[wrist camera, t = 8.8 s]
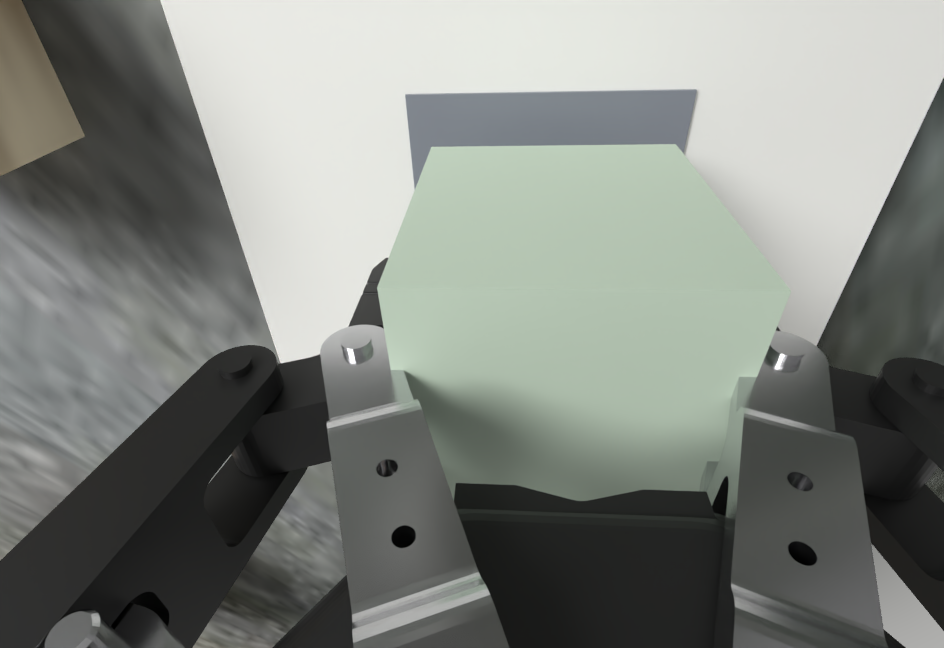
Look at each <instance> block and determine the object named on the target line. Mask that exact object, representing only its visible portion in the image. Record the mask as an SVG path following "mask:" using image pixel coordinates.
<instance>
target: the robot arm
mask: <svg viewBox="0 0 944 648" xmlns="http://www.w3.org/2000/svg"><path fill="white" fill-rule="evenodd" d="M387 261H388V258H385V259H384V260H383V261H381V262H380V263H379V264H378V265H377V266H375V267H374V268H373V269H372V271H371V274H370V276H369V278H368V281H367V284H366V286H365V288H364V290H363V295H361V297H360V300H359V302H358V305H357V307H356V309H355V312H354V314H353V317H352V319H351V321H350V324H349V326H348V327H346V328H344V329H341V330H339V331H337V332H335V333H333V334H332V335H330V336H329V337H328V338H327V339H326V340H325V341H324V343H323V344H322V346H321V349H320V354H319V355H316V356H313V357H309V358H305V359H300V360H295V361H290V362H285V363H280V364H278V362H277V359H276V357H275V354H274V353H273V352H272V351H271V350H269V349H267V348H265V347H262V346H255V345H247V346H240V347H235V348H232V349H228V350H226V351H224V352H221V353H219V354H217V355H216V356H214V357H213V358H211V359H210V360H208V361H207V362H206V363H205V364H204V365H203V366H202V367H201V368H200V369H199V370H198V371H197V372H196V373H195V374H193V375H192V376H191V377H190V378H189V379H188V380H187V381H186V382H185V383H184V384H183V385H182V386H181V387H180V388H179V389H178V390H177V391H176V392H175V393H174V394H173V395H172V396H171V397H170V398H169V399H168V400H167V401H165V402H164V403H163V404H162V405H161V406H160V407H159V408H158V409H157V410H156V411H155V412H154V413H153V414H152V415H151V416H150V417H149V418H148V419H147V420H146V421H145V422H144V423H143V424H142V425H141V426H140V427H139V428H138V429H136V430H135V431H134V432H133V433H132V434H131V435H130V436H129V437H128V438H127V439H126V440H125V441H124V442H123V443H122V444H121V445H120V446H119V447H118V448H117V449H116V450H115V451H114V452H113V453H112V454H111V455H110V456H108V457H107V458H106V459H105V460H104V461H103V462H102V463H101V464H100V465H99V466H98V467H97V468H96V469H95V470H94V471H93V472H92V473H91V474H90V475H89V476H88V477H87V478H86V479H85V480H84V481H83V482H82V483H80V484H79V485H78V486H77V487H76V488H75V489H74V490H73V491H72V492H71V493H70V494H69V495H68V496H67V497H66V498H65V499H64V500H63V501H62V502H61V503H60V504H59V505H58V506H57V507H56V508H55V509H54V510H52V511H51V512H50V513H49V514H48V515H47V516H46V517H45V518H44V519H43V520H42V521H41V522H40V523H39V524H38V525H37V526H36V527H35V528H34V529H33V530H32V531H31V532H30V533H29V534H28V535H27V536H26V537H24V538H23V539H22V540H21V541H20V542H19V543H18V544H17V545H16V546H15V547H14V548H13V549H12V550H11V551H10V552H9V553H8V554H7V555H6V556H5V557H4V558H3V559H2V560H1V561H0V648H192V647H193V646H194V644H195V642H196V641H197V639H198V638H199V636H200V635H201V633H202V632H203V630H204V629H205V627H206V625H207V624H208V622H209V621H210V619H211V618H212V616H213V615H214V613H215V611H216V610H217V608H218V607H219V605H220V604H221V602H222V601H223V599H224V597H225V596H226V594H227V593H228V591H229V590H230V588H231V587H232V585H233V583H234V582H235V580H236V579H237V577H238V576H239V574H240V573H241V571H242V569H243V568H244V566H245V565H246V563H247V562H248V560H249V559H250V557H251V556H252V554H253V552H254V551H255V549H256V548H257V546H258V545H259V543H260V542H261V540H262V538H263V537H264V535H265V534H266V532H267V531H268V529H269V528H270V526H271V524H272V523H273V521H274V520H275V518H276V517H277V515H278V514H279V512H280V510H281V509H282V507H283V506H284V504H285V503H286V501H287V500H288V498H289V496H290V495H291V493H292V492H293V490H294V489H295V487H296V486H297V484H298V483H299V481H300V479H301V478H302V476H303V475H304V473H305V471H306V470H307V467H308V466H312V465H316V464H320V463H324V462H329V461H331V462H332V470H333V477H334V484H335V492H336V499H337V507H338V514H339V521H340V529H341V536H342V544H343V551H344V558H345V566H346V573H347V575H346V576H345V577H344V578H343V579H342V580H341V581H340V582H339V583H338V584H337V585H336V586H335V587H334V588H333V589H332V590H331V591H330V592H329V593H328V594H327V595H326V596H325V597H323V598H322V599H321V600H320V601H319V602H318V603H317V604H316V605H315V606H314V607H313V608H312V609H311V610H310V611H309V612H308V613H307V614H306V615H305V616H304V617H303V618H302V619H301V620H300V621H299V622H298V623H297V624H296V625H295V626H294V627H293V628H292V629H291V630H290V631H289V632H288V633H287V634H286V635H285V636H284V637H283V638H282V639H281V640H280V641H279V642H278V643H277V644H276V645H275V646H274V647H273V648H905V647H904V646H903V645H902V644H900V643H899V642H898V641H897V640H896V639H894V638H893V637H892V636H891V635H890V634H888V633H887V632H886V631H885V630H884V629H883V623H882V616H881V609H880V602H879V595H878V588H877V581H876V574H875V567H874V561H873V553H872V546H871V543H872V544H873V545H874V546H875V548H876V549H877V550H878V551H879V553H880V554H881V555H882V556H883V558H884V559H885V560H886V561H887V562H888V564H889V565H890V566H891V567H892V569H893V570H894V571H895V572H896V573H897V575H898V576H899V577H900V578H901V579H902V581H903V582H904V583H905V584H906V586H907V587H908V588H909V589H910V590H911V592H912V593H913V594H914V595H915V596H916V598H917V599H918V600H919V601H920V603H921V604H922V605H923V606H924V607H925V609H926V610H927V611H928V612H929V614H930V615H931V616H932V617H933V618H934V620H936V622H937V623H938V624H939V626H940V627H941V628H942V629H943V631H944V503H943V502H942V501H941V500H940V499H939V498H938V497H937V496H936V495H935V494H934V493H933V492H932V491H931V490H930V489H929V488H928V487H927V486H926V485H925V483H926V482H927V480H928V479H929V478H930V477H931V475H932V474H933V473H934V472H935V470H936V469H937V468H938V467H940V468H941V469H942V470H943V471H944V366H943V365H940V364H938V363H934V362H931V361H927V360H923V359H916V358H897V359H892V360H890V361H888V362H887V363H885V365H884V366H883V368H882V369H881V371H880V373H879V375H878V376H877V377H874V376H869V375H865V374H860V373H855V372H850V371H846V370H841V369H837V368H833V367H830V366H829V365H828V360H827V358H826V356H825V355H824V353H823V352H822V351H821V350H820V349H819V348H818V347H817V346H815V345H814V344H812V343H811V342H809V341H807V340H805V339H803V338H801V337H799V336H796V335H793V334H790V333H786V332H782V331H780V329H779V328H778V326H777V328H776V331H775V333H774V336H773V338H772V341H771V343H770V346H769V348H768V351H767V353H766V356H765V358H764V361H763V363H762V366H761V368H760V371H759V373H758V376H757V377H739V378H738V381H737V383H736V386H735V389H734V391H733V394H732V397H731V402H730V412H729V421H728V430H727V435H726V440H725V444H724V448H723V451H722V454H721V457H720V460H719V462H718V461H707V463H706V466H705V469H704V471H703V474H702V477H701V482H700V489H699V491H673V490H644V489H643V490H638V491H633V492H628V493H623V494H618V495H613V496H608V497H603V498H598V499H593V500H588V501H576V500H571V499H567V498H564V497H560V496H556V495H552V494H548V493H544V492H541V491H537V490H533V489H529V488H525V487H521V486H518V485H500V484H471V483H456V485H455V495H454V500H453V497H452V494H451V491H450V488H449V485H448V483H447V480H446V477H445V474H444V471H443V468H442V465H441V462H440V459H439V457H438V454H437V451H436V448H435V445H434V442H433V439H432V436H431V433H430V431H429V428H428V425H427V422H426V419H425V416H424V413H423V410H422V407H421V405H420V402H419V401H418V399H414V400H413V397H412V394H411V391H410V388H409V385H408V382H407V379H406V376H405V373H404V370H391V369H390V363H389V357H388V351H387V345H386V339H385V333H384V327H383V321H382V315H381V309H380V303H379V297H378V291H377V287H378V284H379V281H380V279H381V276H382V274H383V271H384V268H385V266H386V263H387ZM231 454H232V456H231V457H230V458H229V460H228V461H227V462H226V463H225V465H224V466H223V467H222V468H221V469H220V471H219V472H218V473H217V474H216V476H215V477H214V478H213V479H212V481H211V482H210V483H209V481H210V480H211V478H212V477H213V476H214V474H215V473H216V472H217V471H218V469H219V468H220V467H221V466H222V464H223V463H224V462H225V461H226V459H227V458H228V457H229V456H230V455H231ZM208 483H209V484H208ZM207 485H208V486H207Z"/></svg>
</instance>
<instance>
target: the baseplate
mask: <svg viewBox="0 0 944 648" xmlns="http://www.w3.org/2000/svg"><path fill="white" fill-rule="evenodd" d="M160 1H161V4H162V7H163V10H164V13H165V16H166V19H167V22H168V25H169V28H170V31H171V34H172V37H173V40H174V43H175V46H176V49H177V52H178V55H179V58H180V61H181V64H182V67H183V70H184V73H185V76H186V79H187V82H188V85H189V88H190V91H191V94H192V97H193V100H194V103H195V106H196V109H197V112H198V115H199V118H200V121H201V124H202V128H203V131H204V134H205V137H206V140H207V143H208V146H209V149H210V152H211V155H212V158H213V161H214V164H215V167H216V170H217V173H218V176H219V179H220V182H221V185H222V188H223V191H224V194H225V197H226V200H227V203H228V206H229V209H230V212H231V215H232V218H233V221H234V224H235V227H236V230H237V233H238V236H239V239H240V242H241V245H242V248H243V251H244V254H245V257H246V260H247V263H248V266H249V269H250V272H251V275H252V278H253V281H254V284H255V287H256V290H257V293H258V296H259V299H260V302H261V305H262V308H263V311H264V315H265V318H266V321H267V324H268V327H269V330H270V333H271V336H272V339H273V342H274V345H275V348H276V351H277V354H278V357H279V360H280V363H285V362H290V361H295V360H300V359H305V358H309V357H313V356H316V355H319V354H320V349H321V346H322V344H323V343H324V341H325V340H326V339H327V338H328V337H329V336H330V335H332V334H333V333H335V332H337V331H339V330H341V329H344V328H346V327H348V326H349V324H350V321H351V319H352V317H353V314H354V312H355V309H356V307H357V305H358V302H359V300H360V297H361V295H363V290H364V288H365V286H366V284H367V281H368V278H369V276H370V274H371V271H372V269H373V268H374V267H375V266H377V265H378V264H379V263H380V262H381V261H383V260H384V259H385V258H389V256H390V253H391V250H392V248H393V245H394V243H395V240H396V237H397V235H398V232H399V230H400V227H401V224H402V222H403V219H404V217H405V214H406V211H407V209H408V206H409V204H410V201H411V199H412V196H413V193H414V191H415V188H416V186H417V183H418V180H419V178H420V175H421V173H422V170H423V167H424V165H425V162H426V160H427V157H428V154H429V152H430V149H431V147H456V146H547V145H638V144H676V145H677V146H678V147H679V149H680V150H681V151H682V152H683V154H684V155H685V156H686V158H687V159H688V160H689V161H690V163H691V164H692V165H693V166H694V168H695V169H696V170H697V172H698V173H699V174H700V175H701V177H702V178H703V179H704V180H705V182H706V183H707V184H708V186H709V187H710V188H711V189H712V191H713V192H714V193H715V194H716V196H717V197H718V198H719V200H720V201H721V202H722V203H723V205H724V206H725V207H726V208H727V210H728V211H729V212H730V214H731V215H732V216H733V217H734V219H735V220H736V221H737V222H738V224H739V225H740V226H741V228H742V229H743V230H744V231H745V233H746V234H747V235H748V236H749V238H750V239H751V240H752V242H753V243H754V244H755V245H756V247H757V248H758V249H759V250H760V252H761V253H762V254H763V256H764V257H765V258H766V259H767V261H768V262H769V263H770V264H771V266H772V267H773V268H774V270H775V271H776V272H777V273H778V275H779V276H780V277H781V278H782V280H783V281H784V282H785V284H786V285H787V286H788V287H789V289H790V290H791V293H790V296H789V298H788V301H787V303H786V306H785V308H784V311H783V313H782V316H781V318H780V321H779V323H778V328H779V329H780V331H782V332H786V333H790V334H793V335H796V336H799V337H801V338H803V339H805V340H807V341H809V342H811V343H812V344H814V345H815V346H817V344H818V342H819V339H820V337H821V335H822V333H823V331H824V329H825V327H826V325H827V322H828V320H829V318H830V316H831V314H832V312H833V310H834V308H835V306H836V303H837V301H838V299H839V297H840V295H841V293H842V291H843V289H844V287H845V284H846V282H847V280H848V278H849V276H850V274H851V272H852V270H853V268H854V265H855V263H856V261H857V259H858V257H859V255H860V253H861V251H862V249H863V246H864V244H865V242H866V240H867V238H868V236H869V234H870V232H871V230H872V227H873V225H874V223H875V221H876V219H877V217H878V215H879V213H880V211H881V208H882V206H883V204H884V202H885V200H886V198H887V196H888V194H889V192H890V189H891V187H892V185H893V183H894V181H895V179H896V177H897V175H898V173H899V170H900V168H901V166H902V164H903V162H904V160H905V158H906V156H907V154H908V151H909V149H910V147H911V145H912V143H913V141H914V139H915V137H916V135H917V132H918V130H919V128H920V126H921V124H922V122H923V120H924V118H925V116H926V113H927V111H928V109H929V107H930V105H931V103H932V101H933V99H934V97H935V94H936V92H937V90H938V88H939V86H940V84H941V82H942V80H943V78H944V0H160Z"/></svg>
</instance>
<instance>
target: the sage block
mask: <svg viewBox="0 0 944 648" xmlns="http://www.w3.org/2000/svg"><path fill="white" fill-rule="evenodd" d="M377 291H378V297H379V303H380V309H381V315H382V321H383V327H384V333H385V339H386V345H387V351H388V357H389V363H390V369H391V370H404V373H405V376H406V379H407V382H408V385H409V388H410V391H411V394H412V397H413V400H414V399H418V401H419V402H420V405H421V407H422V410H423V413H424V416H425V419H426V422H427V425H428V428H429V431H430V433H431V436H432V439H433V442H434V445H435V448H436V451H437V454H438V457H439V459H440V462H441V465H442V468H443V471H444V474H445V477H446V480H447V483H448V485H449V488H450V491H451V494H452V497H453V500H454V495H455V485H456V483H471V484H500V485H518V486H521V487H525V488H529V489H533V490H537V491H541V492H544V493H548V494H552V495H556V496H560V497H564V498H567V499H571V500H576V501H588V500H593V499H598V498H603V497H608V496H613V495H618V494H623V493H628V492H633V491H638V490H643V489H644V490H673V491H699V489H700V482H701V477H702V474H703V471H704V469H705V466H706V463H707V461H718V462H719V460H720V457H721V454H722V451H723V448H724V444H725V440H726V435H727V430H728V421H729V412H730V402H731V397H732V394H733V391H734V389H735V386H736V383H737V381H738V378H739V377H757V376H758V373H759V371H760V368H761V366H762V363H763V361H764V358H765V356H766V353H767V351H768V348H769V346H770V343H771V341H772V338H773V336H774V333H775V331H776V328H777V326H778V323H779V321H780V318H781V316H782V313H783V311H784V308H785V306H786V303H787V301H788V298H789V296H790V293H791V290H790V289H789V287H788V286H787V285H786V284H785V282H784V281H783V280H782V278H781V277H780V276H779V275H778V273H777V272H776V271H775V270H774V268H773V267H772V266H771V264H770V263H769V262H768V261H767V259H766V258H765V257H764V256H763V254H762V253H761V252H760V250H759V249H758V248H757V247H756V245H755V244H754V243H753V242H752V240H751V239H750V238H749V236H748V235H747V234H746V233H745V231H744V230H743V229H742V228H741V226H740V225H739V224H738V222H737V221H736V220H735V219H734V217H733V216H732V215H731V214H730V212H729V211H728V210H727V208H726V207H725V206H724V205H723V203H722V202H721V201H720V200H719V198H718V197H717V196H716V194H715V193H714V192H713V191H712V189H711V188H710V187H709V186H708V184H707V183H706V182H705V180H704V179H703V178H702V177H701V175H700V174H699V173H698V172H697V170H696V169H695V168H694V166H693V165H692V164H691V163H690V161H689V160H688V159H687V158H686V156H685V155H684V154H683V152H682V151H681V150H680V149H679V147H678V146H677V145H676V144H638V145H547V146H456V147H431V149H430V152H429V154H428V157H427V160H426V162H425V165H424V167H423V170H422V173H421V175H420V178H419V180H418V183H417V186H416V188H415V191H414V193H413V196H412V199H411V201H410V204H409V206H408V209H407V211H406V214H405V217H404V219H403V222H402V224H401V227H400V230H399V232H398V235H397V237H396V240H395V243H394V245H393V248H392V250H391V253H390V256H389V258H388V261H387V263H386V266H385V268H384V271H383V274H382V276H381V279H380V281H379V284H378V287H377Z"/></svg>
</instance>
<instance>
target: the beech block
mask: <svg viewBox="0 0 944 648" xmlns="http://www.w3.org/2000/svg"><path fill="white" fill-rule="evenodd" d="M83 137H85V135H84V133H83V131H82V128H81V126H80V124H79V122H78V120H77V118H76V116H75V113H74V111H73V109H72V107H71V105H70V103H69V101H68V99H67V96H66V94H65V92H64V90H63V88H62V86H61V84H60V81H59V79H58V77H57V75H56V73H55V71H54V69H53V66H52V64H51V62H50V60H49V58H48V56H47V54H46V52H45V49H44V47H43V45H42V43H41V41H40V39H39V37H38V34H37V32H36V30H35V28H34V26H33V24H32V22H31V19H30V17H29V15H28V13H27V11H26V9H25V7H24V5H23V2H22V0H0V176H2V175H4V174H6V173H8V172H10V171H13V170H15V169H17V168H19V167H21V166H23V165H25V164H27V163H30V162H32V161H34V160H36V159H38V158H40V157H42V156H45V155H47V154H49V153H51V152H53V151H55V150H57V149H59V148H62V147H64V146H66V145H68V144H70V143H72V142H74V141H77V140H79V139H81V138H83Z"/></svg>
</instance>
